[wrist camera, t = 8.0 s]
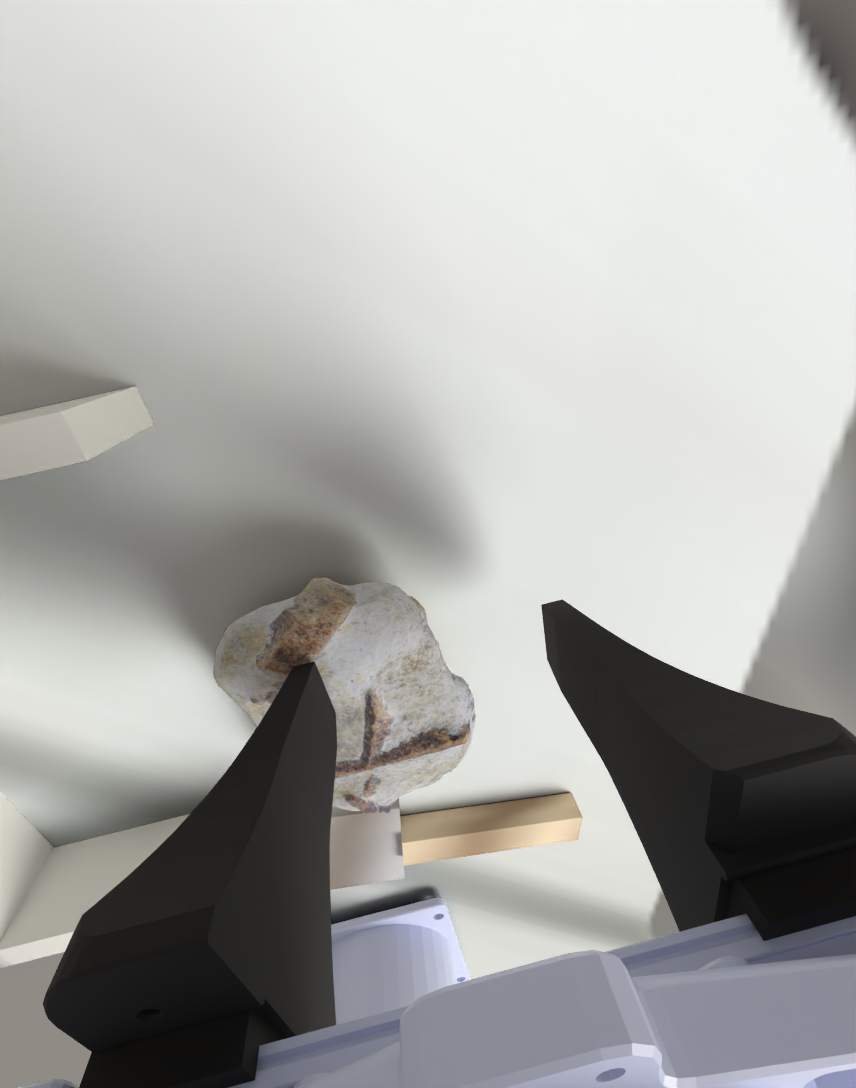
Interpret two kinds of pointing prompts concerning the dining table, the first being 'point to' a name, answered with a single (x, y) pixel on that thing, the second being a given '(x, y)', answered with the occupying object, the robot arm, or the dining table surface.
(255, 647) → the stone
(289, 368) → the dining table surface
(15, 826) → the bin
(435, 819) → the scoop
